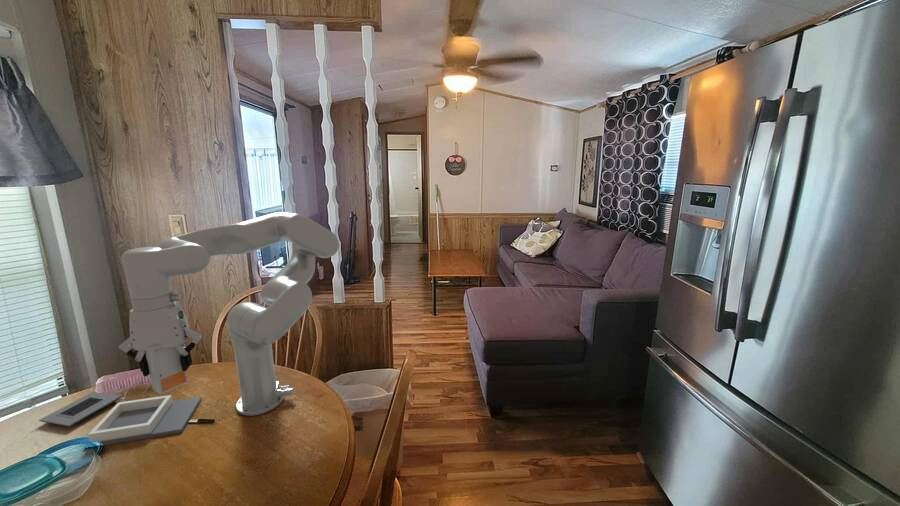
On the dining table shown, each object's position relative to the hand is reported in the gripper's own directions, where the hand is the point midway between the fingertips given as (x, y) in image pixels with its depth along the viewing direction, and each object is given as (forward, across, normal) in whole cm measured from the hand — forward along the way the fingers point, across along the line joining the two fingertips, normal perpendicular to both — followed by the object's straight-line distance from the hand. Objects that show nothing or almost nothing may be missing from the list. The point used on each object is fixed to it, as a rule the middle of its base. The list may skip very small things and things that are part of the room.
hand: (167, 370), depth 86 cm
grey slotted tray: (+22, +33, -23) cm, 46 cm away
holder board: (+22, +13, -13) cm, 28 cm away
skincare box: (+5, 0, 0) cm, 5 cm away
